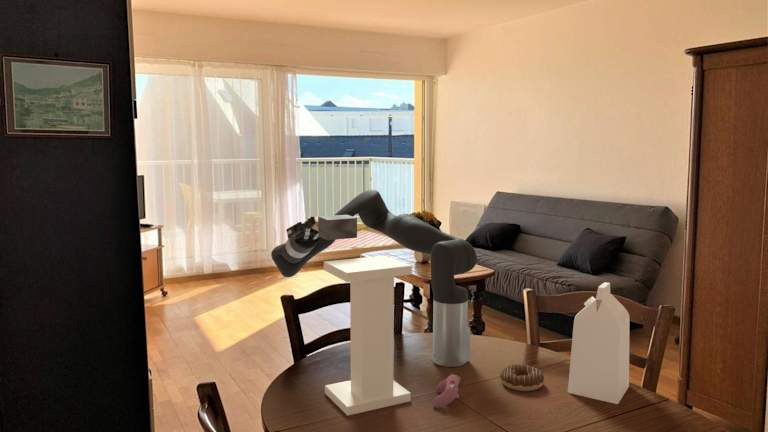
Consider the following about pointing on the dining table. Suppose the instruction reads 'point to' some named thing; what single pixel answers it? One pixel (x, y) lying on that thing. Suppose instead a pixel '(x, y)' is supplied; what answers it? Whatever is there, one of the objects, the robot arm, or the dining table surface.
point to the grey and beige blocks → (336, 227)
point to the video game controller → (447, 391)
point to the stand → (369, 334)
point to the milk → (600, 349)
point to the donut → (522, 377)
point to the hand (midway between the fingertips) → (319, 219)
